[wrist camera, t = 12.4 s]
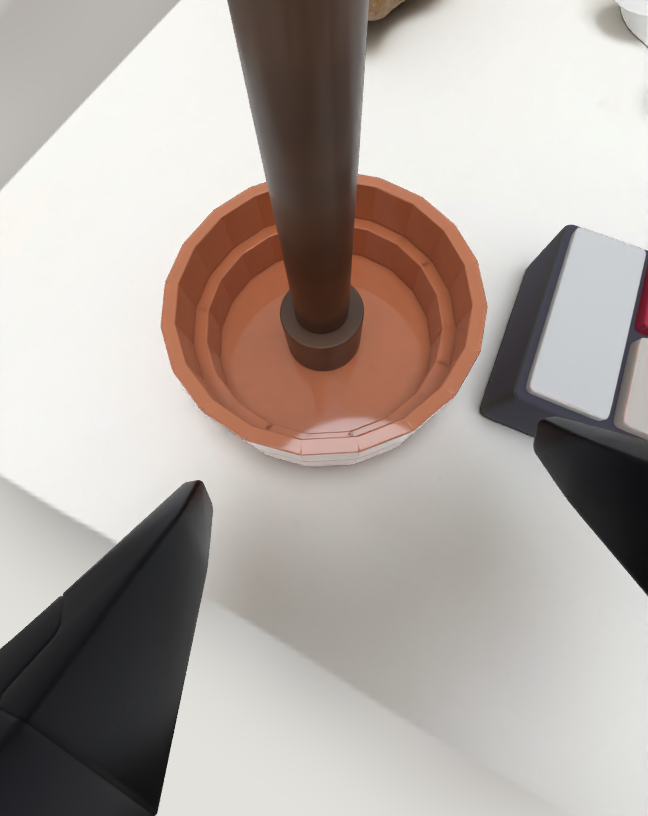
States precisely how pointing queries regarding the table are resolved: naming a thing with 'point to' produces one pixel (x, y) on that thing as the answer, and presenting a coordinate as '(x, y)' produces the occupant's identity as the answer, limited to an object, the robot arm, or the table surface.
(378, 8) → the tan clay cup
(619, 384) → the calculator
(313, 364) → the pestle
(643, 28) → the wheeled car silhouette
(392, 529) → the table surface
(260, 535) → the table surface
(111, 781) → the robot arm
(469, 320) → the mixing bowl
